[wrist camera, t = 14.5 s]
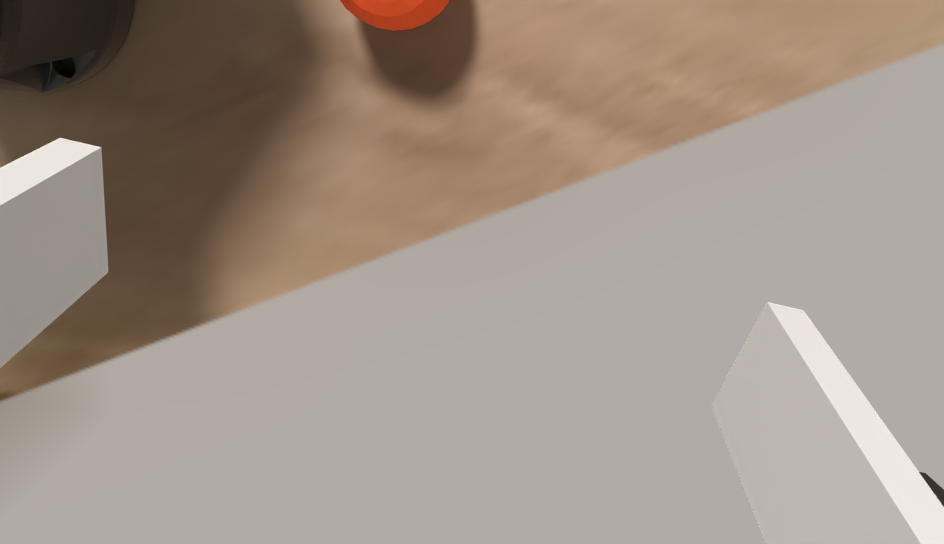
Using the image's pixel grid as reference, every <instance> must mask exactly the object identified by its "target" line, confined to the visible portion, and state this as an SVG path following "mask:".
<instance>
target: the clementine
mask: <svg viewBox="0 0 944 544" xmlns="http://www.w3.org/2000/svg"><path fill="white" fill-rule="evenodd" d="M340 1H341V2H342V3H343V5H344V6H345V7H346V9H347V10H349V11H350V12H351V13H352V14H353V15H355V16H356V17H357V18H358V19H359V20H361V21H363V22H365V23H367V24H369V25H371V26H374V27H376V28H381V29H386V30H392V31H394V30H405V29H412V28H415V27H418V26H420V25H423V24H425V23H428V22H429V21H430V20H432V19H433V18H434V17H435V16H437V15H438V14H439V13H441V12H442V10H443V9H444V8H445V6H446V5H447V4H448V2H449V1H450V0H340Z"/></svg>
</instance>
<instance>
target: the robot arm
mask: <svg viewBox="0 0 944 544" xmlns="http://www.w3.org/2000/svg"><path fill="white" fill-rule="evenodd" d="M133 8H134V0H0V95H9V96H34V95H42V94H47V93H52V92H55V91H59V90H61V89H64V88H66V87H69V86H72V85H74V84H77V83H79V82H82V81H84V80H86V79H88V78H90V77H92V76H93V75H95V74H97V73H98V72H99V71H101V70H102V69H103V68H104V67H105V66H106V65H107V64H108V63H109V62H110V61H111V60H112V59H113V58H114V56H115V55H116V54H117V52H118V51H119V49H120V47H121V46H122V44H123V42H124V40H125V38H126V35H127V33H128V30H129V27H130V23H131V19H132V14H133ZM107 273H108V255H107V237H106V219H105V202H104V184H103V166H102V148H101V147H98V146H94V145H89V144H85V143H81V142H76V141H72V140H68V139H64V138H59V139H57V140H55V141H53V142H51V143H49V144H47V145H45V146H43V147H41V148H39V149H37V150H35V151H33V152H31V153H29V154H27V155H25V156H23V157H21V158H19V159H17V160H15V161H13V162H11V163H9V164H7V165H5V166H3V167H1V168H0V368H1V367H2V366H3V365H5V364H6V363H7V362H8V361H9V360H10V359H11V358H12V357H14V356H15V355H16V354H17V353H18V352H19V351H20V350H21V349H23V348H24V347H25V346H26V345H27V344H28V343H29V342H30V341H32V340H33V339H34V338H35V337H36V336H37V335H38V334H39V333H41V332H42V331H43V330H44V329H45V328H46V327H47V326H48V325H50V324H51V323H52V322H53V321H54V320H55V319H56V318H57V317H59V316H60V315H61V314H62V313H63V312H64V311H65V310H66V309H68V308H69V307H70V306H71V305H72V304H73V303H74V302H75V301H77V300H78V299H79V298H80V297H81V296H82V295H83V294H84V293H86V292H87V291H88V290H89V289H90V288H91V287H92V286H93V285H95V284H96V283H97V282H98V281H99V280H100V279H101V278H102V277H104V276H105V275H106V274H107ZM712 408H713V411H714V414H715V416H716V419H717V421H718V424H719V426H720V429H721V431H722V434H723V437H724V439H725V441H726V444H727V447H728V449H729V452H730V454H731V457H732V460H733V462H734V464H735V467H736V470H737V472H738V475H739V477H740V479H741V483H742V485H743V488H744V490H745V493H746V495H747V498H748V500H749V503H750V506H751V508H752V511H753V513H754V516H755V518H756V521H757V523H758V526H759V529H760V531H761V533H762V536H763V538H764V541H765V544H944V490H943V489H942V488H941V487H940V486H939V485H938V484H937V483H936V482H935V481H933V480H932V479H931V478H930V477H929V476H928V475H927V474H926V473H922V472H918V470H917V469H916V468H915V466H914V465H913V463H912V462H911V460H910V459H909V458H908V456H907V455H906V453H905V452H904V451H903V449H902V448H901V446H900V445H899V444H898V442H897V441H896V439H895V438H894V437H893V435H892V434H891V432H890V431H889V430H888V428H887V427H886V425H885V424H884V423H883V421H882V420H881V418H880V417H879V416H878V414H877V413H876V412H875V410H874V409H873V407H872V406H871V404H870V403H869V402H868V400H867V399H866V397H865V396H864V395H863V393H862V392H861V390H860V389H859V388H858V386H857V385H856V383H855V382H854V381H853V379H852V378H851V376H850V375H849V374H848V372H847V371H846V370H845V368H844V367H843V365H842V364H841V362H840V361H839V360H838V358H837V357H836V355H835V354H834V353H833V351H832V350H831V348H830V347H829V346H828V344H827V343H826V341H825V340H824V339H823V337H822V336H821V334H820V333H819V331H818V330H817V329H816V327H815V326H814V325H813V323H812V322H811V320H810V319H809V318H808V316H807V315H806V313H805V312H804V311H803V310H800V309H795V308H791V307H787V306H782V305H778V304H774V303H770V302H767V303H766V305H765V307H764V309H763V310H762V312H761V314H760V316H759V318H758V320H757V322H756V323H755V325H754V327H753V329H752V331H751V333H750V334H749V336H748V338H747V340H746V342H745V344H744V346H743V348H742V349H741V352H740V353H739V355H738V357H737V359H736V361H735V363H734V365H733V366H732V369H731V370H730V372H729V374H728V376H727V378H726V379H725V381H724V383H723V385H722V387H721V389H720V391H719V392H718V394H717V396H716V398H715V400H714V402H713V404H712Z"/></svg>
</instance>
